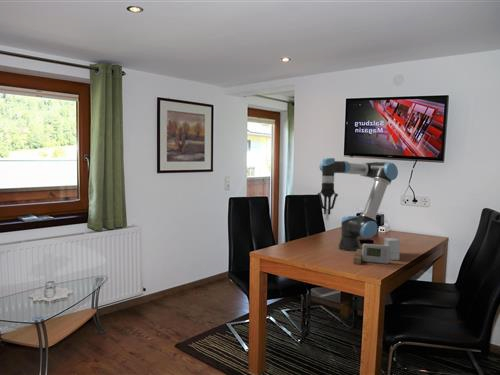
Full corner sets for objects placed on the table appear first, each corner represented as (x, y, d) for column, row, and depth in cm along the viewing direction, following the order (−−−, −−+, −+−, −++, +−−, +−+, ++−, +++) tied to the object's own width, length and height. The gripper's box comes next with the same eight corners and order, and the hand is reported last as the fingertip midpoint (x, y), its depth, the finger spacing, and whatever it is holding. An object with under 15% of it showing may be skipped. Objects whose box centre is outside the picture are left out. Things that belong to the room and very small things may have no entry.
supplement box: (395, 257, 255) (395, 237, 254) (399, 260, 248) (400, 240, 247) (383, 257, 255) (384, 237, 254) (387, 260, 247) (388, 240, 246)
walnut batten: (356, 254, 260) (357, 248, 260) (363, 255, 259) (363, 249, 259) (353, 263, 238) (353, 257, 237) (360, 264, 236) (360, 258, 236)
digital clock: (360, 261, 244) (360, 244, 243) (364, 258, 251) (365, 242, 250) (387, 265, 234) (387, 248, 234) (391, 262, 242) (391, 245, 241)
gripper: (316, 182, 247) (315, 219, 249) (337, 183, 243) (336, 221, 245) (318, 181, 254) (317, 218, 256) (339, 182, 250) (338, 219, 252)
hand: (327, 219), depth 250 cm, fingers closed
